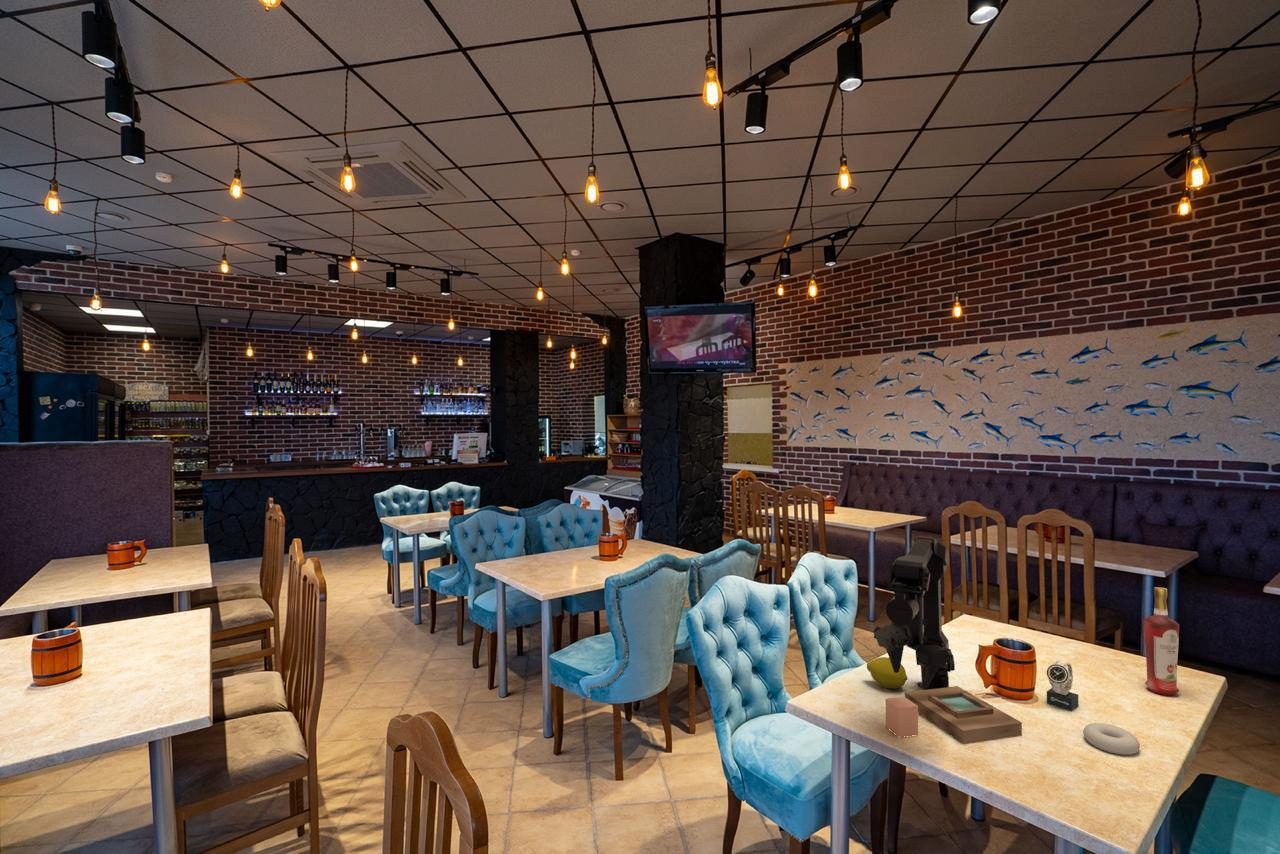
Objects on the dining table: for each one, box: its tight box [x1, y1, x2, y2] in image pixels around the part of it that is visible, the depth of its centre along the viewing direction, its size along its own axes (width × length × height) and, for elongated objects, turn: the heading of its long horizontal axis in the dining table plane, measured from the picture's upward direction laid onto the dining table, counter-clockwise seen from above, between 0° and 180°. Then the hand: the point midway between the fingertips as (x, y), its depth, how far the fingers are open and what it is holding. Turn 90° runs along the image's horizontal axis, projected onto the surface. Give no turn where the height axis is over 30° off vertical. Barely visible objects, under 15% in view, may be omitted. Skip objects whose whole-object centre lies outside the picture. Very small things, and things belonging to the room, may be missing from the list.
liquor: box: [1142, 586, 1180, 696], centre depth 158 cm, size 7×7×28 cm
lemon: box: [866, 656, 909, 690], centre depth 162 cm, size 11×8×8 cm
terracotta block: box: [885, 695, 919, 738], centre depth 138 cm, size 5×5×7 cm
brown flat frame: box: [904, 685, 1023, 744], centre depth 144 cm, size 20×16×4 cm
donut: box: [1082, 722, 1141, 756], centre depth 132 cm, size 10×4×10 cm
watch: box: [1046, 660, 1079, 712], centre depth 151 cm, size 6×8×11 cm
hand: (910, 680), depth 138 cm, fingers open, 9 cm apart
